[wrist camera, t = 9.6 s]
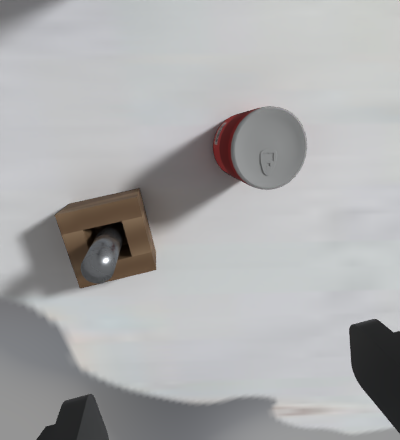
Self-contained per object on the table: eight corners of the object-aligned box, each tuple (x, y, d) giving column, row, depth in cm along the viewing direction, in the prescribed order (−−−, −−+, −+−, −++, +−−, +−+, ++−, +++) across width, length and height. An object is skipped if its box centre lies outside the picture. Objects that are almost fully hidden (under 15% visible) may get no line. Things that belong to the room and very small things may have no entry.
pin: (98, 222, 40) (76, 257, 28) (121, 217, 40) (109, 249, 28) (104, 244, 40) (86, 287, 29) (127, 239, 41) (118, 279, 29)
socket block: (69, 203, 40) (54, 215, 34) (139, 188, 40) (136, 196, 35) (90, 267, 42) (79, 288, 36) (155, 252, 43) (156, 269, 37)
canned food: (220, 184, 42) (243, 200, 31) (204, 124, 39) (222, 119, 29) (274, 166, 42) (314, 176, 32) (260, 106, 40) (299, 95, 29)
